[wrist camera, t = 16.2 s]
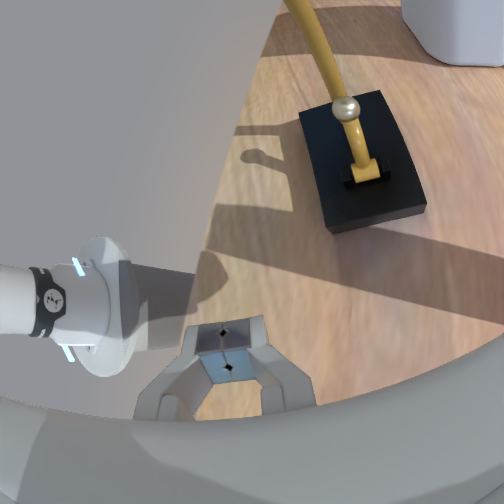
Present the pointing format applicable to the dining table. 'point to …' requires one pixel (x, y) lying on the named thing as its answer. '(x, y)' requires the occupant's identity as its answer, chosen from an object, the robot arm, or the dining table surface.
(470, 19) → the plastic bottle
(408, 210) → the lamp
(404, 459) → the robot arm
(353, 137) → the lamp switch
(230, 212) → the dining table surface
